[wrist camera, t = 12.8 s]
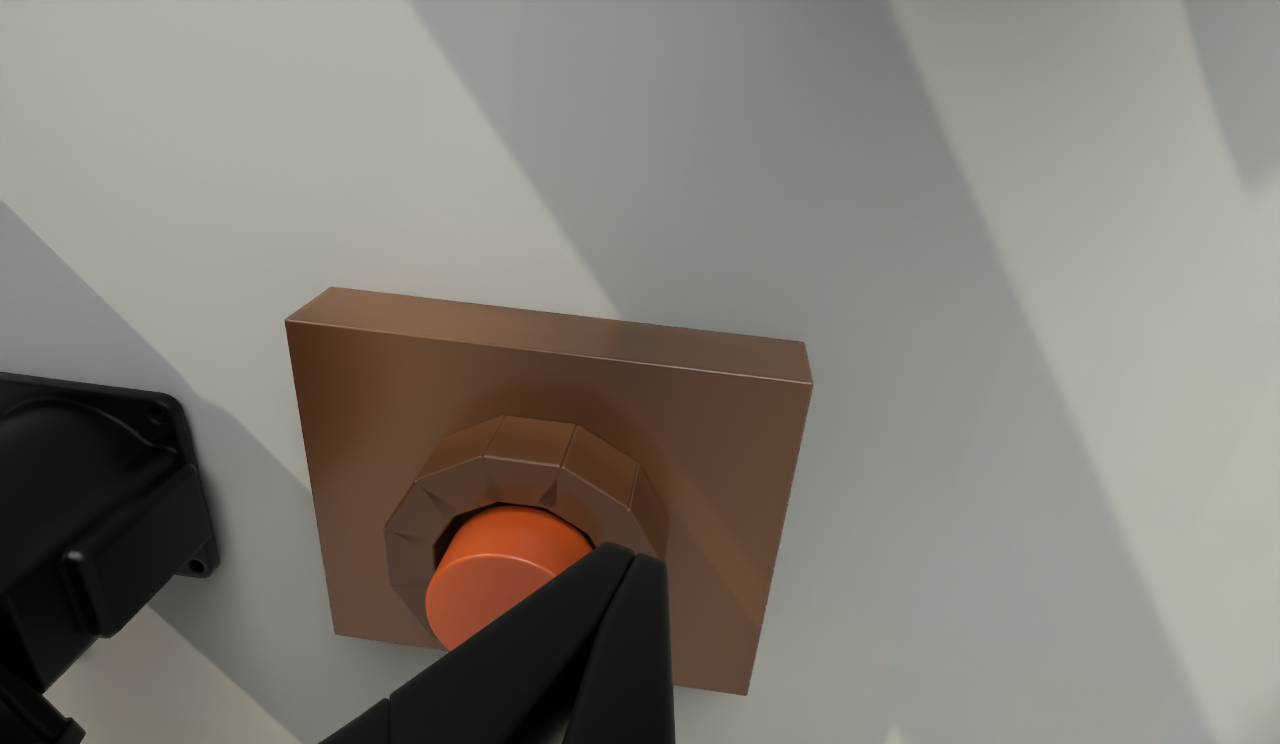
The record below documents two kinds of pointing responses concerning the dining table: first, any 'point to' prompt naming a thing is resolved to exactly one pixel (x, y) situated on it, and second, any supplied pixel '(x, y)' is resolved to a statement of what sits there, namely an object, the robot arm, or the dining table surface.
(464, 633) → the button
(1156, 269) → the dining table surface
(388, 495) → the control block
